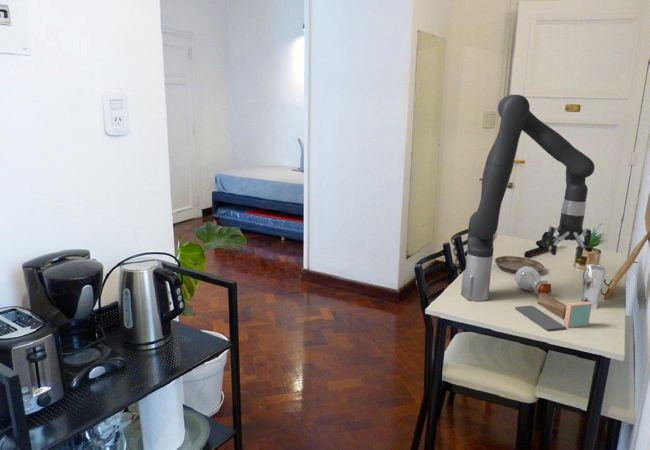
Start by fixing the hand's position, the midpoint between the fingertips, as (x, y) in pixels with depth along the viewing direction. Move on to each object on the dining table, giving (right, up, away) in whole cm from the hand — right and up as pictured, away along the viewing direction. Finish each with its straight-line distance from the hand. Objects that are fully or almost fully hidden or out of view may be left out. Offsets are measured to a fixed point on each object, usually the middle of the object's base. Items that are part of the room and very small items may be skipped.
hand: (565, 255), depth 182 cm
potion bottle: (-7, -15, +15) cm, 22 cm away
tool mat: (-14, -21, -10) cm, 27 cm away
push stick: (-6, -20, -3) cm, 21 cm away
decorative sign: (+19, -3, +66) cm, 69 cm away
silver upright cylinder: (+10, -19, +3) cm, 21 cm away
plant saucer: (-2, -9, +41) cm, 42 cm away
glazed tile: (-4, -23, -14) cm, 27 cm away
